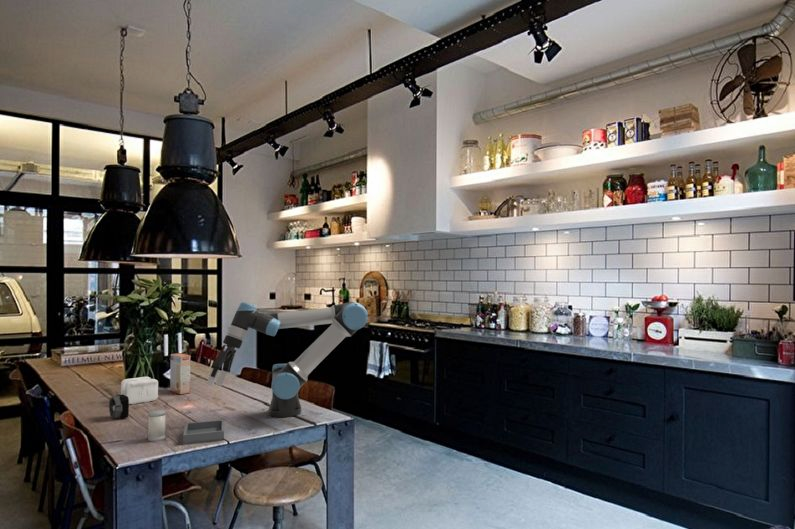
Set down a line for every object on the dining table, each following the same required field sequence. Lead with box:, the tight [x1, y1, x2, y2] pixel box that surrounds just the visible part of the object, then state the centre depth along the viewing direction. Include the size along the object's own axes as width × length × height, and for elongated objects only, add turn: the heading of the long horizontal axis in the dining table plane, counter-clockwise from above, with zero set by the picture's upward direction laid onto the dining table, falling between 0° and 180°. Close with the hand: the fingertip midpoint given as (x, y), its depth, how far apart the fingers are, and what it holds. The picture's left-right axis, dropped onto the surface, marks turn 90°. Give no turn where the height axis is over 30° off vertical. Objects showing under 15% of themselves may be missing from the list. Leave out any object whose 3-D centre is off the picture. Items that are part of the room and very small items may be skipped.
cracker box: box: [169, 352, 192, 395], centre depth 274 cm, size 14×6×21 cm, turn 46°
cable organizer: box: [120, 376, 159, 405], centre depth 253 cm, size 15×11×12 cm
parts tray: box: [182, 419, 225, 445], centre depth 197 cm, size 15×17×4 cm
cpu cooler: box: [108, 394, 130, 420], centre depth 223 cm, size 10×6×10 cm, turn 46°
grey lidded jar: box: [147, 408, 166, 443], centre depth 193 cm, size 6×6×11 cm
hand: (213, 385), depth 206 cm, fingers open, 13 cm apart
